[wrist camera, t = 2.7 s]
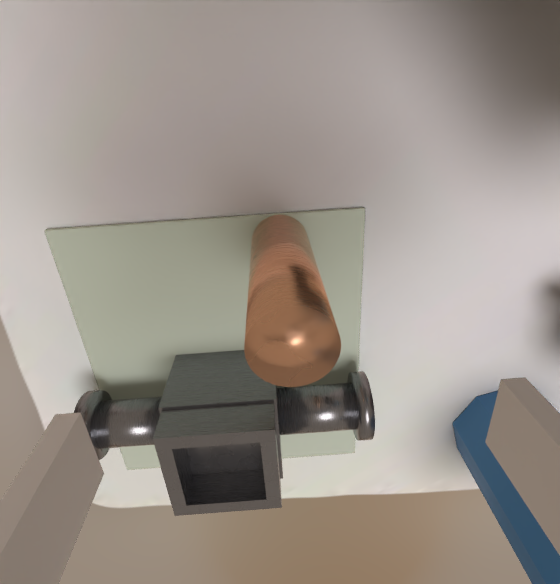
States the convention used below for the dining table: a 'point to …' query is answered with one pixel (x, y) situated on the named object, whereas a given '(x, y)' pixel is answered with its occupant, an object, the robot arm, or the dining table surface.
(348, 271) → the mat
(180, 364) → the metal mallet head
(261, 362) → the brown mallet handle
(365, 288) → the dining table surface
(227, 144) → the dining table surface
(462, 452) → the water bottle
